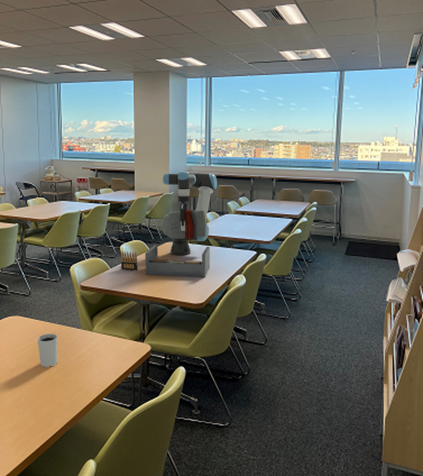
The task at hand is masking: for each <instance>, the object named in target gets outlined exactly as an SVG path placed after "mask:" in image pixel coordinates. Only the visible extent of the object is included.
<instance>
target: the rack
mask: <svg viewBox="0 0 423 476" xmlns="http://www.w3.org/2000/svg"><path fill="white" fill-rule="evenodd" d="M210 249H211V246H206V247H205V249H204V251H203V253H202V254H201V264H193V263H186V261H187V260H186V261H184V260H168V263H167V262H152V260H153V259H159V256H158V255H159V253H158V251H159V250H158V244H154V245H153V246H151V247H150V248H149V249H148V250H147V251H146V252H145V256H144V257H145V276H161V277H163V276H165V277H186V278H187V277H191V278H193V277H194V278H206V276H207V274H208V272H209V270H210V264H211V261H210V260H211V255H210V254H211V253H210V251H211V250H210ZM169 262H184V263H169Z"/></svg>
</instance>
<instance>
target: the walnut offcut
mask: <svg viewBox="0 0 423 476" xmlns="http://www.w3.org/2000/svg"><path fill="white" fill-rule="evenodd" d="M168 261H169V260H168V258H158V259H153V260H152V262H167V263H168Z"/></svg>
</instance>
